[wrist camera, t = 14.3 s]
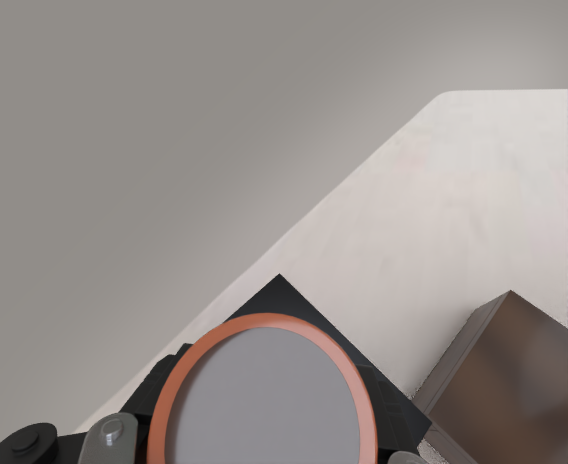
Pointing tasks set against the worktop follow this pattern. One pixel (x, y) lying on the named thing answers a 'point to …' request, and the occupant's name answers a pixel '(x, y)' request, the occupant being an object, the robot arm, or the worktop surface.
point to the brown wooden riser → (501, 388)
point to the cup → (264, 399)
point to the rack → (291, 302)
